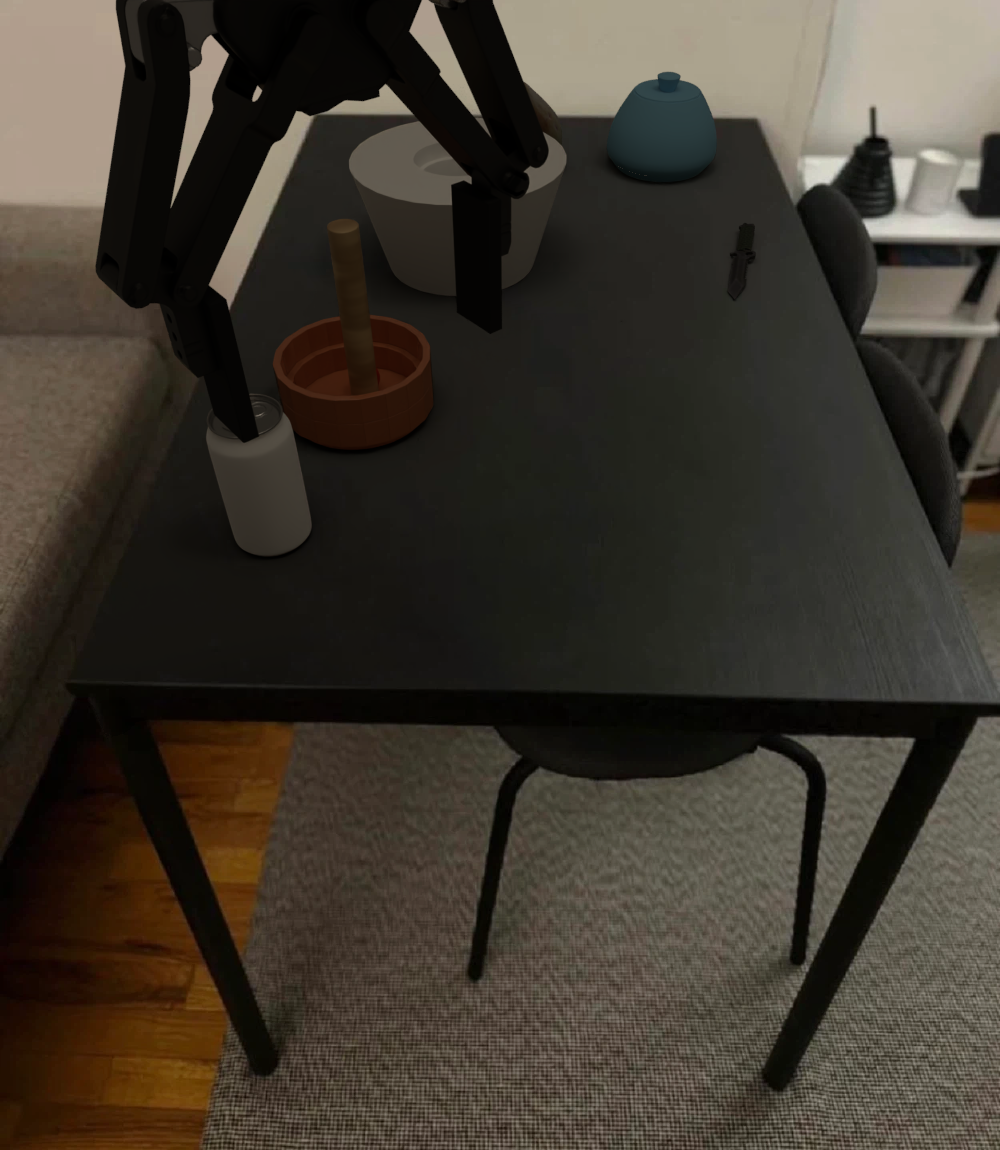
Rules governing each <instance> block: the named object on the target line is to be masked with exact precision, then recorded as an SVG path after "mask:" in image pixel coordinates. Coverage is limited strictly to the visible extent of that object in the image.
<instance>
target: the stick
mask: <svg viewBox="0 0 1000 1150" xmlns="http://www.w3.org/2000/svg"><path fill="white" fill-rule="evenodd" d="M326 231H327V237H328V244H329V245H328V246H329V252H330V258H331V265H332V272H333V278H334V285H335V293H336V299H337V300H336V301H337V307H338V313H339V316H340V321H341V328H342V334H343V341H344V348H345V355H346V362H347V369H348V376H349V382H350V389H351V396H353V395H362V394H367V393H372V392H376V391H379V389H378V381H377V372H376V364H375V356H374V347H373V339H372V331H371V322H370V315H371V314H370V307H369V299H368V291H367V290H368V289H367V282H366V281H367V280H366V274H365V265H364V257H363V247H362V241H361V232H360V224H359V223H358V221H356V220H354V219H351V218H339V219H338V218H337V219H334V220H332V221H330V222H329V223H327V226H326Z"/></svg>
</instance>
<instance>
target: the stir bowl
mask: <svg viewBox="0 0 1000 1150" xmlns="http://www.w3.org/2000/svg"><path fill="white" fill-rule="evenodd" d="M370 322H371V331H372V339H373V347H374V356H375V364H376V368H377V369H378V371H379V374H380V382H379V385H378V389H379V391H376V392H372V393H367V394H362V395H353V396H351V389H350V382H349V376H348V369H347V362H346V355H345V348H344V341H343V334H342V328H341V321H340V315H338V316H334V317H333V316H332V317H328V318H323V319H319V320H317V321H314V322H312V323H309V324H306V325H304V326H302V327H300V328H299V329H298V330H296V331H294V332H293V333H292V334H290V335H288V336H287V337H285V338H284V339H283V341H282V342H281V343H280V345H279V346H278V347H277V348H276V349H275V352H274V356H273V360H272V368H273V373H274V378H275V383H276V387H277V392H278V397H279V403H280V404H281V406H282V409H283V413H284V414H285V415H286V416H287V417H288V419H289V421H290V423H291V426H292V430H293V432H295V433H296V434H297V435H298V436H300V437H302V438H304V439H306V440H308V441H310V442H312V443H314V444H316V445H320V446H322V447H326V448H329V449H335V450H345V451H358V450H368V449H373V448H379V447H381V446H386V445H390V444H391V443H394V442H397V441H398V440H399V441H400V440H401V439H402V438H404V437H406V436H408V435H409V434H411V433H412V432H413V431H414V430H415V429H416V428H418V427H419V426H420V425H421V424H423V422H425V420H427V418H428V416H429V415H430V412H431V411H432V409H433V407H434V379H433V366H432V351H431V345H430V343H429V342H428V339H427V338H426V336H425V334H424V333H422V332H421V331H420V330H419V329H417V328H416V327H415V326H413V325H411V324H410V323H407V322H404V321H402V320H399V319H396V318H394V317H390V316H382V315H377V314H376V315H375V314H370Z"/></svg>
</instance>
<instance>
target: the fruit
mask: <svg viewBox="0 0 1000 1150" xmlns="http://www.w3.org/2000/svg"><path fill="white" fill-rule="evenodd" d="M524 84H525V87H526V89H527V92H528V94H529V97H530V100H531V102H532V105H533V108H534V110H535V113H536V115H537V118H538V121H539V123H540V126H541V128H542V131H543V132H544V133H546V134H547V135H549V136H551V137H552V138H554V139H555V140H556V141H557V142H558V143H559V144H560V145H561V146H562V144H563V131H562V125H561V122H560V121H561V120H560V119H559V117H558V114H557V113H556V111H555V110H554V109H553V108H552V107H551V105H550V104H549V103H548V102H547V101H546V100H545V99H544V98H543V97H542V96H541V95H540V94H539V93H537V92H536V90H535V89H533V88H532V87H531V86H530V85H529V84H528V83H527V82H526V81H524Z"/></svg>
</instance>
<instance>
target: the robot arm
mask: <svg viewBox="0 0 1000 1150" xmlns="http://www.w3.org/2000/svg"><path fill="white" fill-rule="evenodd" d="M422 1H423V0H115V14H116V19H117V25H118V31H119V37H120V43H121V49H122V56H123V61H124V72H123V79H122V86H121V92H120V98H119V104H118V113H117V119H116V126H115V131H114V139H113V146H112V153H111V158H110V164H109V165H110V166H109V172H108V179H107V186H106V187H107V188H106V191H105V198H104V204H103V205H104V206H103V212H102V219H101V226H100V234H99V239H98V246H97V252H96V260H95V274H96V276H97V277H98V279H99V280H101V281H102V283H103V284H104V285H106V287H108V288H109V289H110V290H111V291H112V292H113V293H114V294H115V295H116V296H117V297H118V298H120V300H122V301H123V302H124V304H126V305H127V306H129V308H132V309H135V310H137V309H144V308H146V307H148V306H150V304H158V305H159V307H160V310H161V314H162V317H163V321H164V324H165V327H166V331H167V333H168V334H167V335H168V338H169V342H170V345H171V348H172V351H173V355H174V356H175V357H176V358H177V360H178V361H179V363H181V364H182V365H183V366H184V367H185V368H186V369H187V370H188V371H189V372H190V373H192V374H193V375H194V376H195V377H196V378H197V379H199V378H202V377H203V379H204V383H205V387H206V390H207V394H208V397H209V401H210V405H211V409H213V412H214V415H215V416H216V417H217V418H218V419H219V420H220V421H221V422H222V423H223V424H224V425H225V426H226V427H227V428H228V429H229V430H230V431H231V432H232V433H234V434H235V435H236V436H237V437H238V438H239V439H240V440H241V441H242V442H243V443H246V442H248V441H250V440H253V439H255V438H257V437H259V433H258V429H257V425H256V421H255V417H254V412H253V408H252V404H251V400H250V396H249V394H250V392H249V388H248V384H247V379H246V376H245V375H246V374H245V371H244V366H243V363H242V358H241V355H240V350H239V344H238V342H237V341H238V340H237V337H236V333H235V330H234V324H233V321H232V316H231V312H230V308H229V304H228V303H229V302H228V300H227V298H225V297H224V296H223V295H222V294H221V293H219V292H218V291H217V290H216V289H214V288H213V287H212V286H211V285H210V283H211V281H212V279H213V277H214V275H215V272H216V270H217V269H218V266H219V264H220V262H221V259H222V257H223V254H224V252H225V250H226V248H227V246H228V244H229V242H230V240H231V237H232V235H233V233H234V231H235V228H236V226H237V223H238V222H239V219H240V217H241V215H242V213H243V211H244V208H245V206H246V204H247V202H248V199H249V197H250V196H251V193H252V191H253V188H254V186H255V184H256V181H257V179H258V177H259V175H260V173H261V171H262V168H263V166H264V164H265V162H266V160H267V157H268V156H269V153H270V151H271V148H272V147H273V145H274V144H275V143H277V142H280V141H281V140H283V139H284V137H285V136H286V134H287V133H288V131H289V128H290V126H291V124H292V122H293V121H294V118H295V116H296V113H297V112H299V113H303V114H305V115H306V116H308V117H312V116H316V115H319V114H320V115H321V114H324V113H327V112H329V111H331V110H332V109H334V108H335V107H337V106H338V105H340V104H342V103H343V102H345V101H346V102H347V101H348V102H349V101H350V102H366V101H369V100H373V99H376V98H380V97H381V94H380V90H381V89H382V88H383V87H384V86H387V87H388V89H390V90H391V92H392V93H393V94H394V95H395V96H396V98H398V100H399V101H400V102H401V103H402V104H403V105H404V106H405V107H406V108H407V109H408V110H409V111H410V113H411V114H412V115H413V116H414V117H415V119H417V121H420V122H421V124H422V125H423V126H424V127H425V128H426V129H427V130H428V131H429V132H430V134H431V135H432V136H433V137H434V138H435V139H436V140H437V141H438V142H439V144H440V145H441V146H442V147H443V148H444V149H445V150H446V151H447V152H448V154H449V155H450V156H451V157H452V158H453V159H454V160H455V161H456V162H457V164H458V165H459V166H460V167H461V168H462V169H463V170H464V171H465V172H466V174H467V175H469V176H470V177H471V180H472V184H470V183H468V182H466V181H464V180H463V181H461V182H458V183H455V184H452V185H451V195H452V217H453V238H454V260H455V282H456V296H455V299H456V302H455V303H456V313H457V314H458V315H460V316H462V317H463V318H464V319H466V320H467V321H470V323H472V324H474V325H475V326H477V327H479V328H480V329H481V330H483V331H485V332H487V333H488V334H490V335H491V334H494V333H496V332H498V331H501V330H503V289H502V256H504V255H506V254H508V252H509V249H510V245H511V197H512V198H514V199H519V198H521V197H523V196H524V195H525V194H526V192H527V190H528V188H529V183H530V182H529V176H528V174H527V173H525V172H524V171H525V170H526V169H528V168H529V167H530V166H531V167H533V168H539V167H541V166H542V165H543V164H544V163H545V162H546V160H547V157H548V153H549V148H548V144H547V141H546V139H545V136H544V134H543V131H542V128H541V126H540V123H539V121H538V118H537V115H536V113H535V110H534V108H533V105H532V102H531V100H530V97H529V94H528V92H527V89H526V87H525V84H524V82H525V81H524V79H523V76H522V73H521V72H520V68H519V66H518V63H517V61H516V58H515V55H514V53H513V50H512V49H511V45H510V42H509V40H508V37H507V35H506V32H505V30H504V28H503V24H502V22H501V19H500V16H499V13H498V12H497V9H496V6H495V4H494V0H428V1H429V2H430V3H431V4H433V7H434V10H435V12H436V15H437V18H438V20H439V22H440V25H441V28H442V30H443V32H444V34H445V36H446V39H447V41H448V43H449V45H450V47H451V50H452V53H453V55H454V56H455V58H456V61H457V64H458V66H459V68H460V70H461V72H462V75H463V77H464V79H465V81H466V84H467V86H468V88H469V90H470V92H471V95H472V97H473V100H474V102H475V104H476V107H477V109H478V111H479V114H480V115H481V118H483V120H484V122H485V124H486V127H487V129H488V131H489V134H490V136H491V137H490V136H489V134H488V133H487V132H486V131H485V130H484V128H483V127H482V126H481V125H480V123H479V122H478V121H477V120H476V119H475V118H476V117H475V116H474V115H473V113H472V112H471V111H470V109H468V107H467V106H466V105H465V104H464V103H463V101H462V100H461V99H460V97H458V95H457V94H456V93H455V91H453V89H452V88H451V87H450V85H449V84H448V83H447V82H446V81H445V79H444V78H443V77H442V75H441V72H442V71H441V69H440V68H439V66H438V65H437V63H436V62H435V60H433V58H432V57H431V56H430V55H429V53H427V50H425V49H424V48H423V46H422V45H421V44H420V42H419V41H418V40H417V39H416V38H415V36H414V35H413V34H412V32H410V31H411V28H412V26H413V24H414V21H415V18H416V16H417V13H418V11H419V9H420V6H421V4H422ZM209 37H212V38H213V39H214V40H215V41H216V43H217V44H218V45H219V46H220V47H221V48H222V49H223V51H225V52H226V53H227V54H228V55H227V58H226V60H225V62H224V64H223V67H222V69H221V71H220V73H219V76H218V78H217V81H216V83H215V85H214V88H213V90H212V93H211V102H212V111H211V113H210V116H209V117H208V121H207V123H206V124H205V127H204V130H203V132H202V134H201V137H200V139H199V142H198V144H197V147H196V148H195V151H194V153H193V155H192V158H191V161H190V162H189V165H188V167H187V169H186V172H185V174H184V175H183V178H182V181H181V182H180V183H181V184H180V186H179V188H178V190H177V192H176V195H175V197H174V192H175V186H176V180H177V175H178V169H179V164H180V159H181V153H182V148H183V143H184V136H185V130H186V126H187V125H186V124H187V120H188V114H189V108H190V100H191V81H192V80H191V72H192V71H193V70H196V68H198V67H200V65H202V61H203V54H202V48H203V47H204V43H205V41H206V40H207V39H208V38H209ZM258 88H259V90H261V91H260V93H259V96H258V97H257V99H256V100H254V101H253V99H254V95H255V93H256V90H257V89H258ZM173 198H174V199H173Z"/></svg>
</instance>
